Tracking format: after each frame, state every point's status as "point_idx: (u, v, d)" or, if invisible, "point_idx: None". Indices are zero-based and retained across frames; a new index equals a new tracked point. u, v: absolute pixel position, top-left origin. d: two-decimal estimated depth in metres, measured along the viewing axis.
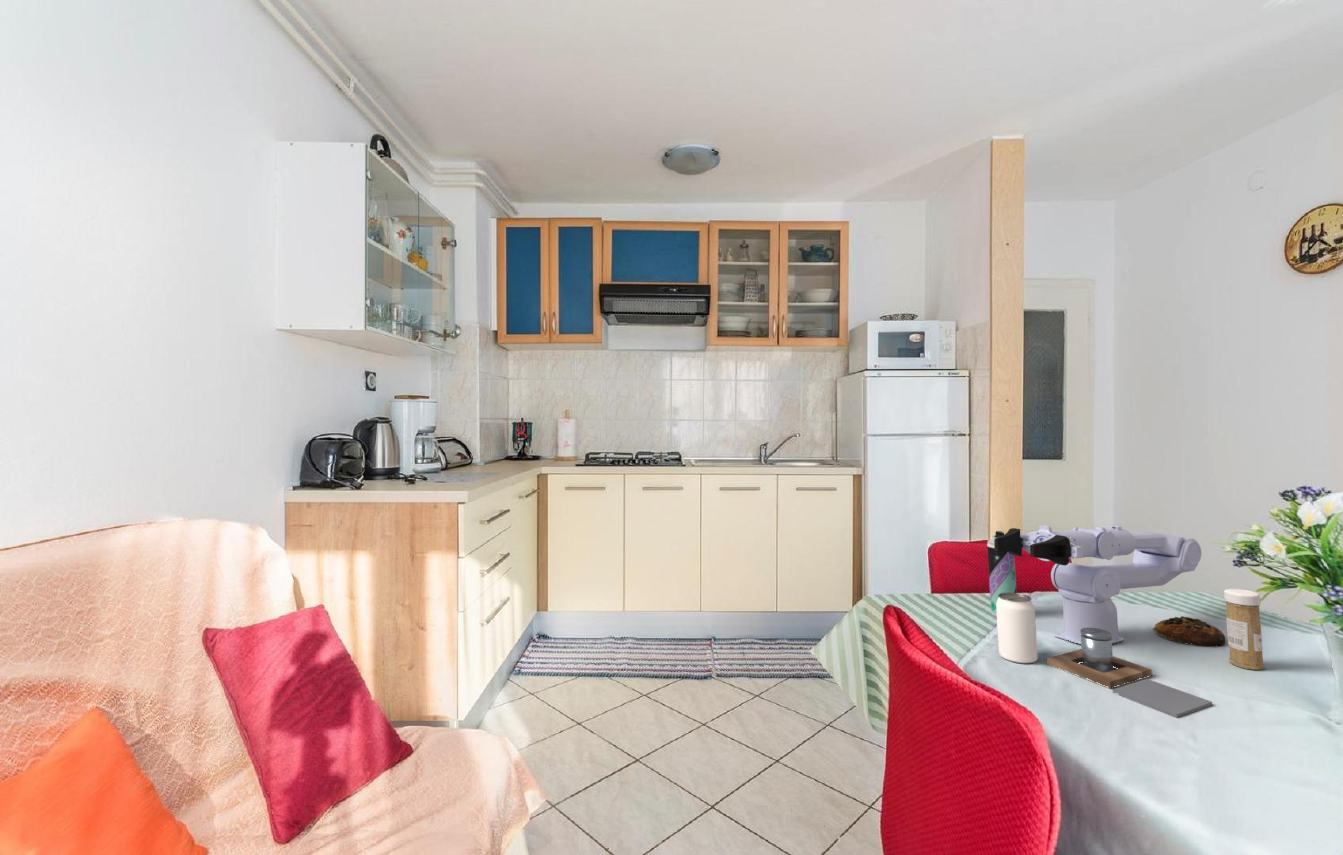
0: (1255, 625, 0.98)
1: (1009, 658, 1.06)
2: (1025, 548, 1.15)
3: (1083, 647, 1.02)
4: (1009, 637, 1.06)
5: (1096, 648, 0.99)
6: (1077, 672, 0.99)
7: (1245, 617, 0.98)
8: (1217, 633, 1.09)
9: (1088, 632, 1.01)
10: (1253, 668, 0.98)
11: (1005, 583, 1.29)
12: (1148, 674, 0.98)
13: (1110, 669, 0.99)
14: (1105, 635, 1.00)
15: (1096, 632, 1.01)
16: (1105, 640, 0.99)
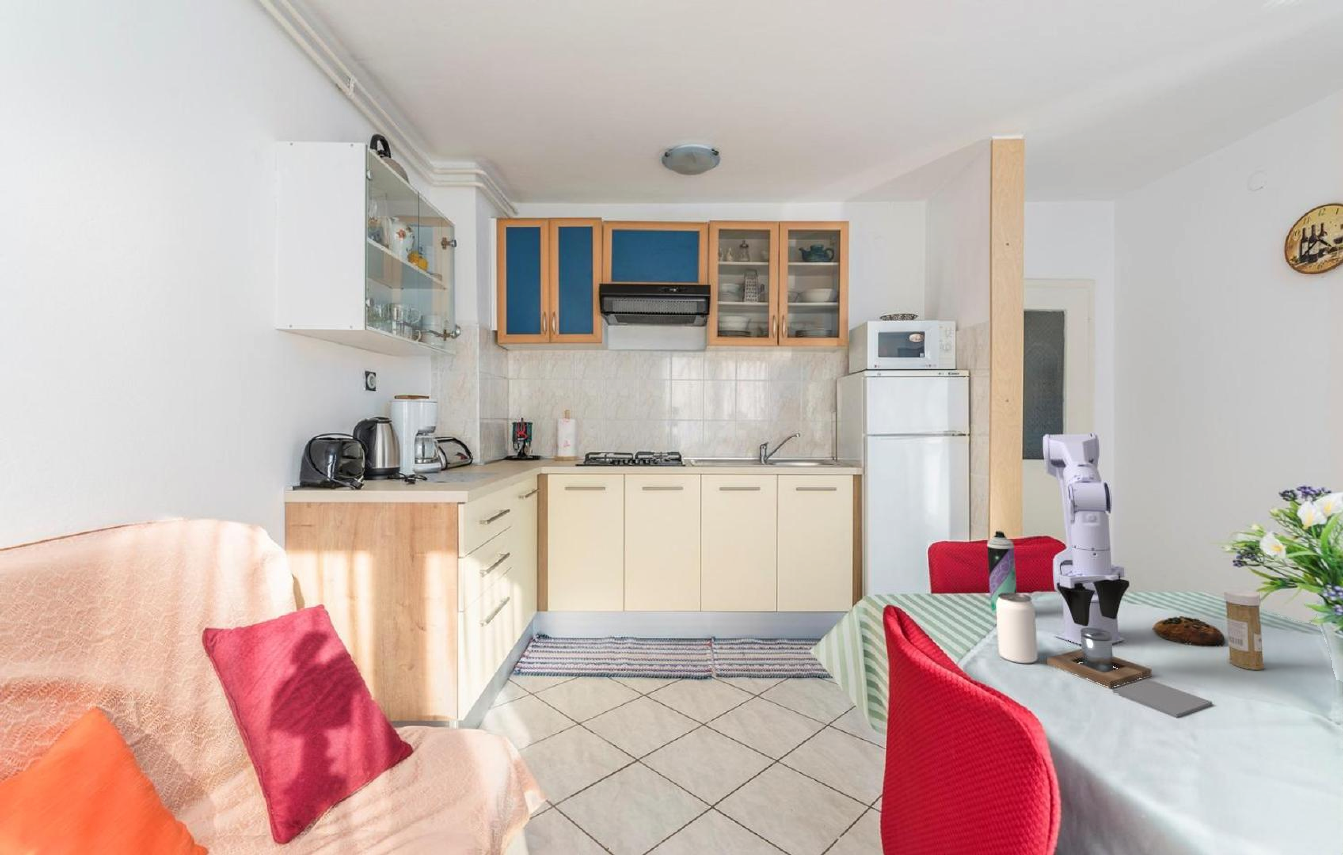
0: (1255, 625, 0.98)
1: (1009, 658, 1.06)
2: None
3: (1083, 647, 1.02)
4: (1009, 637, 1.06)
5: (1096, 648, 0.99)
6: (1077, 672, 0.99)
7: (1245, 617, 0.98)
8: (1216, 632, 1.09)
9: (1088, 632, 1.01)
10: (1253, 668, 0.98)
11: (1005, 583, 1.29)
12: (1148, 674, 0.98)
13: (1110, 669, 0.99)
14: (1105, 635, 1.00)
15: (1096, 632, 1.01)
16: (1105, 640, 0.99)
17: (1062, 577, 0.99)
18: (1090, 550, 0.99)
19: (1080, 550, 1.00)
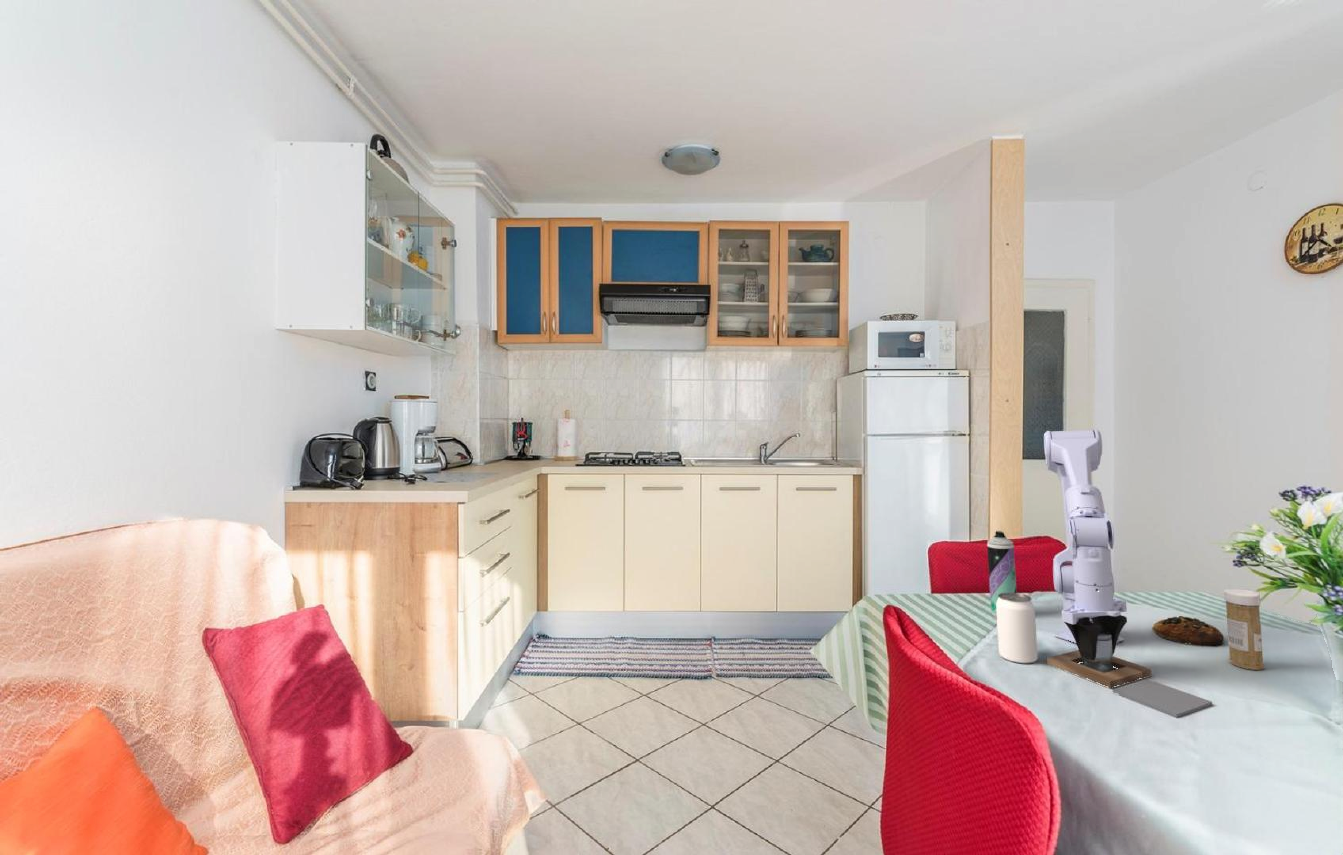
0: (1255, 625, 0.98)
1: (1009, 658, 1.06)
2: None
3: None
4: (1009, 637, 1.06)
5: (1096, 648, 0.99)
6: (1077, 672, 0.99)
7: (1245, 617, 0.98)
8: (1215, 632, 1.09)
9: None
10: (1253, 668, 0.98)
11: (1005, 583, 1.29)
12: (1148, 674, 0.98)
13: (1110, 669, 0.99)
14: (1105, 635, 1.00)
15: None
16: (1105, 640, 0.99)
17: (1064, 613, 0.99)
18: (1092, 586, 0.99)
19: (1082, 585, 1.00)
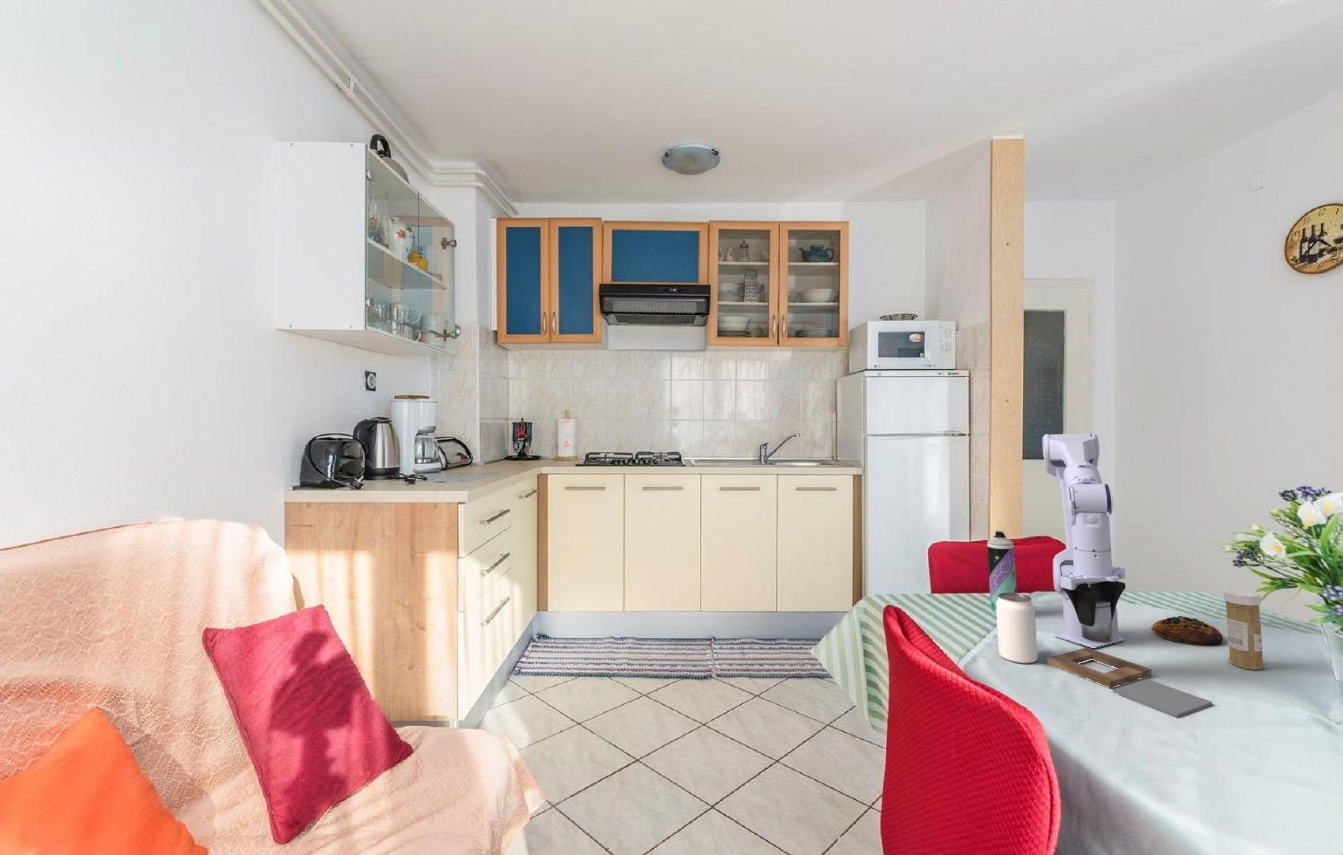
0: (1255, 625, 0.98)
1: (1009, 658, 1.06)
2: None
3: None
4: (1009, 637, 1.06)
5: (1095, 615, 0.99)
6: (1077, 672, 0.99)
7: (1245, 617, 0.98)
8: (1214, 632, 1.10)
9: None
10: (1253, 668, 0.98)
11: (1005, 583, 1.29)
12: (1148, 674, 0.98)
13: (1109, 636, 0.99)
14: (1104, 602, 0.99)
15: None
16: (1104, 607, 0.99)
17: (1063, 579, 0.99)
18: (1091, 551, 0.99)
19: (1081, 551, 1.00)
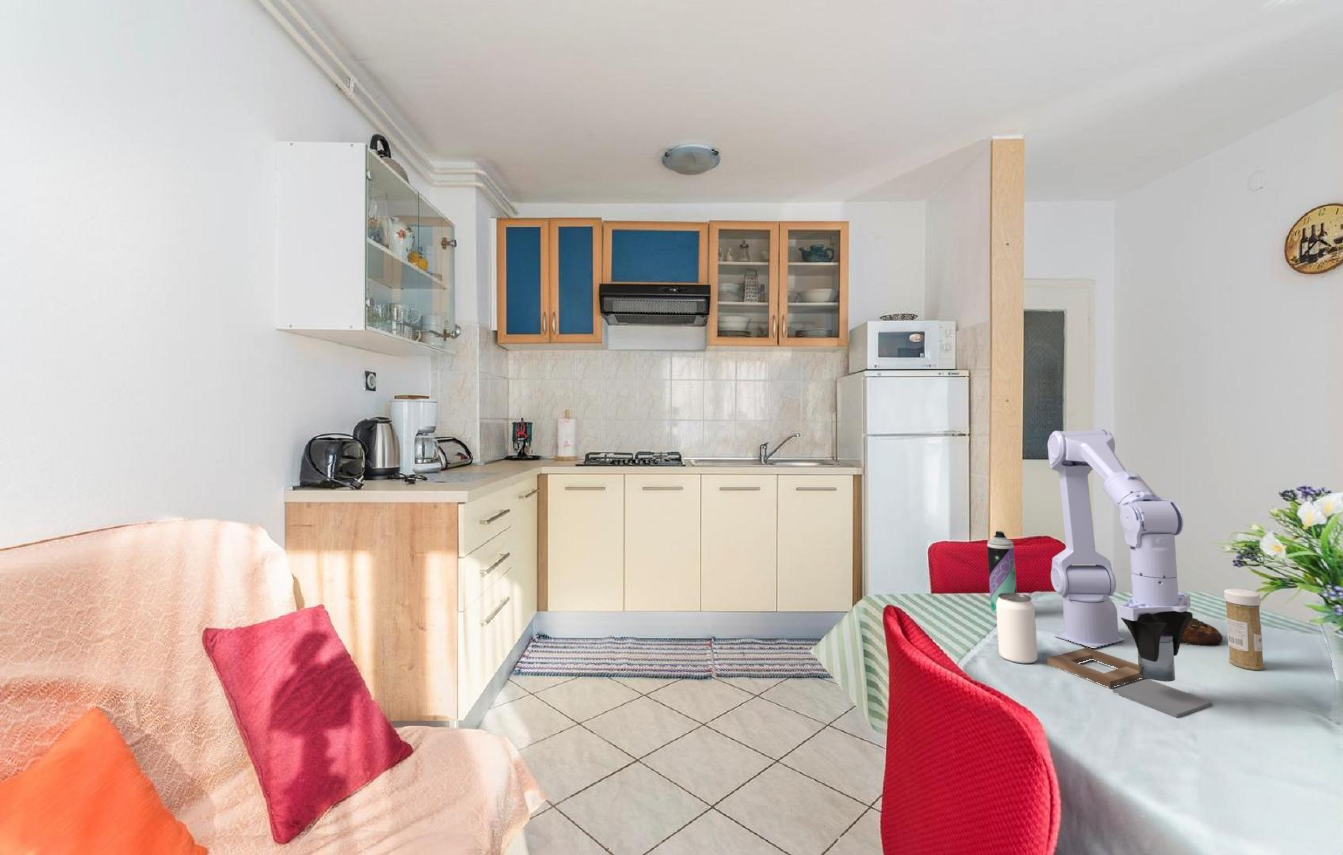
0: (1255, 625, 0.98)
1: (1009, 658, 1.06)
2: None
3: None
4: (1009, 637, 1.06)
5: None
6: (1077, 672, 0.99)
7: (1245, 617, 0.98)
8: (1214, 632, 1.10)
9: None
10: (1253, 668, 0.98)
11: (1005, 583, 1.29)
12: None
13: (1171, 674, 0.88)
14: (1165, 636, 0.89)
15: None
16: (1165, 642, 0.88)
17: (1123, 608, 0.88)
18: (1154, 578, 0.88)
19: (1142, 577, 0.89)
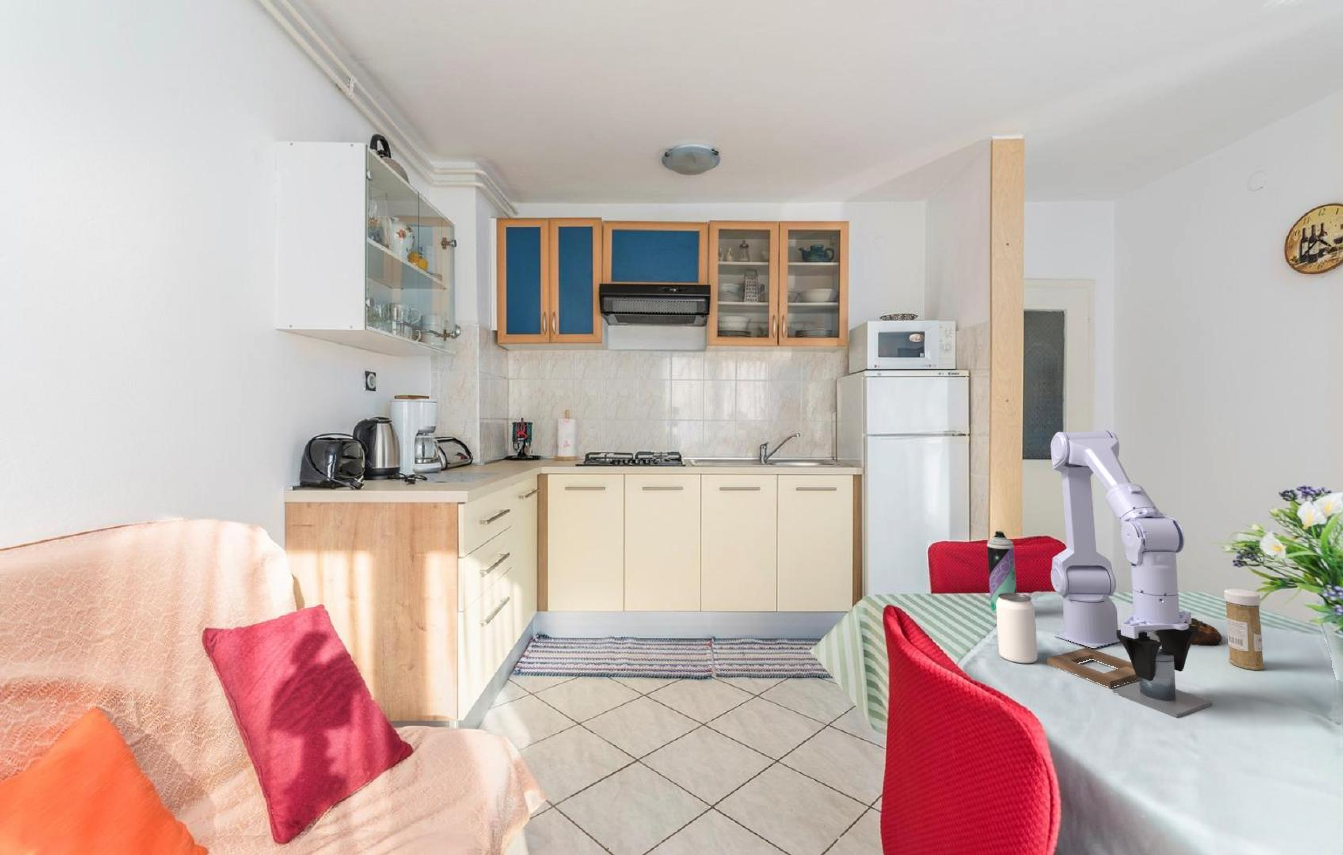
0: (1255, 625, 0.98)
1: (1009, 658, 1.06)
2: None
3: None
4: (1009, 637, 1.06)
5: (1156, 670, 0.89)
6: (1077, 672, 0.99)
7: (1245, 617, 0.98)
8: (1213, 632, 1.10)
9: None
10: (1253, 668, 0.98)
11: (1005, 583, 1.29)
12: None
13: (1172, 694, 0.88)
14: (1166, 656, 0.89)
15: None
16: (1167, 661, 0.88)
17: (1124, 626, 0.88)
18: (1156, 595, 0.88)
19: (1143, 595, 0.89)
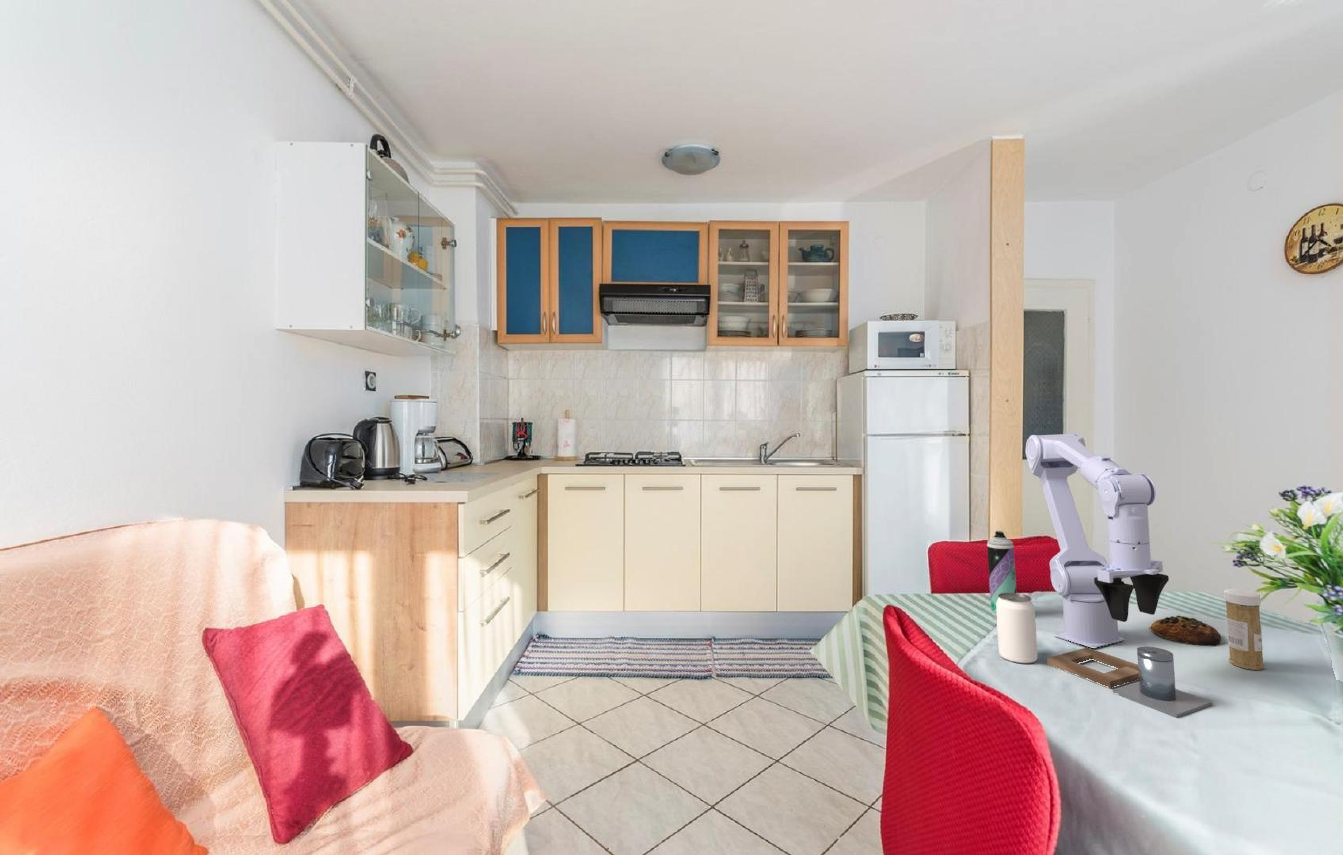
0: (1255, 625, 0.98)
1: (1009, 658, 1.06)
2: None
3: (1140, 668, 0.91)
4: (1009, 637, 1.06)
5: (1156, 670, 0.89)
6: (1077, 672, 0.99)
7: (1245, 617, 0.98)
8: (1213, 632, 1.10)
9: (1146, 652, 0.91)
10: (1253, 668, 0.98)
11: (1005, 583, 1.29)
12: None
13: (1172, 694, 0.88)
14: (1166, 655, 0.89)
15: (1155, 652, 0.91)
16: (1166, 661, 0.88)
17: (1100, 572, 0.97)
18: (1129, 544, 0.97)
19: (1118, 544, 0.98)
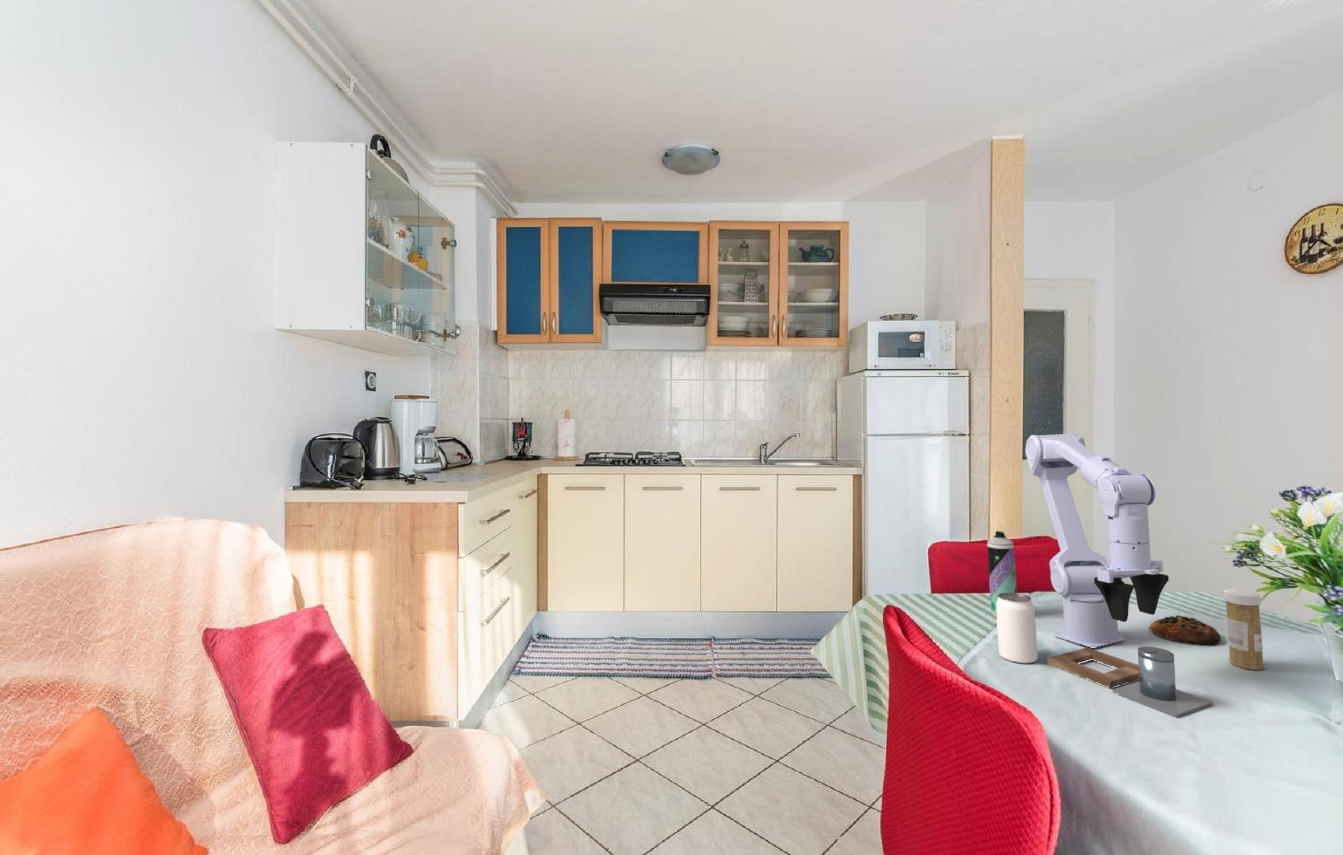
0: (1255, 625, 0.98)
1: (1009, 658, 1.06)
2: None
3: (1141, 668, 0.91)
4: (1009, 637, 1.06)
5: (1157, 670, 0.89)
6: (1077, 672, 0.99)
7: (1245, 617, 0.98)
8: (1212, 631, 1.10)
9: (1147, 652, 0.91)
10: (1253, 668, 0.98)
11: (1005, 583, 1.29)
12: None
13: (1172, 694, 0.88)
14: (1167, 656, 0.89)
15: (1156, 652, 0.91)
16: (1167, 661, 0.88)
17: (1100, 572, 0.97)
18: (1129, 544, 0.97)
19: (1118, 544, 0.98)
